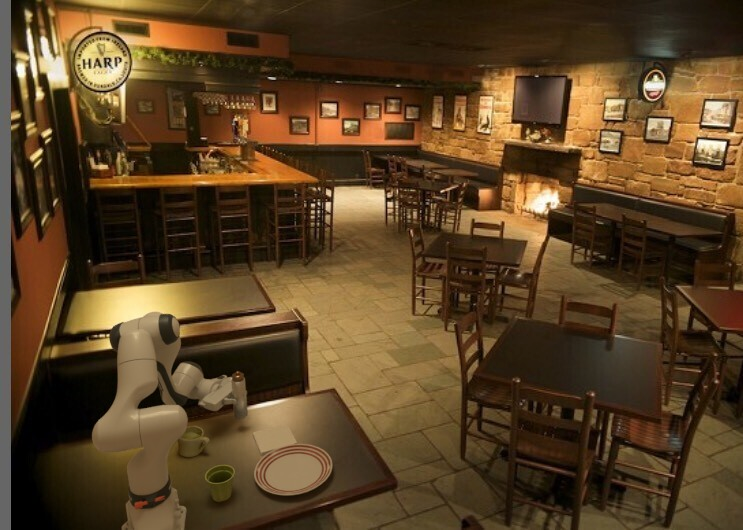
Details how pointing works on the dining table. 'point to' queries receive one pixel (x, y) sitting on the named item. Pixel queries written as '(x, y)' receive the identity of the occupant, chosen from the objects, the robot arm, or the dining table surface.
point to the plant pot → (220, 481)
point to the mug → (192, 441)
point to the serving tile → (273, 438)
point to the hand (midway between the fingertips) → (241, 397)
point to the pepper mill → (239, 395)
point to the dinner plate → (293, 469)
